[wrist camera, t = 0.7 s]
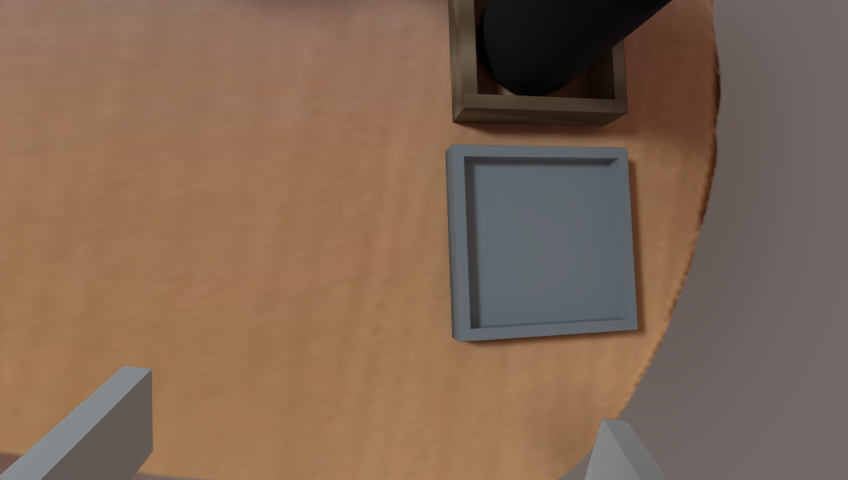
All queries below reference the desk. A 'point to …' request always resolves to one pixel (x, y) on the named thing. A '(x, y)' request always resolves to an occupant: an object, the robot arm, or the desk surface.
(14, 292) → the desk surface
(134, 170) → the desk surface
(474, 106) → the walnut collar
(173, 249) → the desk surface
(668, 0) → the coffee jar
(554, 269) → the grey tray
